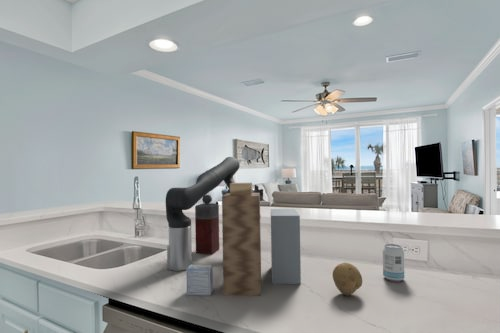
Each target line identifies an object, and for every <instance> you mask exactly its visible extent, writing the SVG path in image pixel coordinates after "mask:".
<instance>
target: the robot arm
mask: <svg viewBox="0 0 500 333" xmlns="http://www.w3.org/2000/svg"><path fill="white" fill-rule="evenodd" d="M239 168H240V161H239V160H238V159H237V158H236V157H233V156H227V157H225V159H223V160H222V161H221V162H220V163H219V164H217V165H215V166H213V167H211V168H210V169H208V170H206V171H204V172H202V173H201V174H199V176H197V178H196V181H195V184H193V185H191V186H188V187H171V188H169V189H168V190H167V191H166V194H165V195H166V196H165V214H166V220H167V223H168V245H167V246H166V259H167V260H166V262H167V264H166V266H167V268H166V270H170V271H175V272H176V271H177V272H178V271H179V272H181V271H186V269H187V268H188V267H189V266H190V265H193V263H192V262H193V261H192V260H193V258H192V255H193V254H192V219H191V218H190V216H187V215H186V214H185V213H184V211H187V210H190V209H192V208H193V207H194V206H196V205H197V203H199V201H200V200H201V199H202V198H203V196H205V195H208V194H209V193H210V192H211V191H213V190H214V189H216V188H217V187H218V186H219V185H221V183H222V182H224V183H225V185H226V187H227V188H228V190H227V193H230V183H236V182H235V180H234V175H235V174H236V173H237V172H238V171H239ZM252 193H260V202H262V201H263V200H264V189H263V188H260V189H259V186H258V185H257V184H254V189H252ZM260 219H261V214H260Z"/></svg>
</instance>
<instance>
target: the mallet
mask: <svg viewBox="0 0 500 333" xmlns="http://www.w3.org/2000/svg"><path fill="white" fill-rule="evenodd" d="M252 190H253V182H235V183H230V196H252Z"/></svg>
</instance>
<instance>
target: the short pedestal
mask: <svg viewBox="0 0 500 333" xmlns="http://www.w3.org/2000/svg"><path fill="white" fill-rule="evenodd" d="M300 217H301V216H300V214H299V213H298V211H297V209H296V208H271V209H270V249H271V250H270V251H271V252H270V254H271V255H270V256H271V257H270V258H271V260H270V262H271V265H270V266H271V283H272V285H275V284H276V285H279V284H281V285H285V284H286V285H287V284H289V285H296V284H297V285H301V283H302V282H301V281H302V280H301V279H302V278H301V273H302V272H301V270H302V269H301V268H302V267H301V218H300Z"/></svg>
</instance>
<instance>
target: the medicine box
mask: <svg viewBox="0 0 500 333" xmlns="http://www.w3.org/2000/svg"><path fill="white" fill-rule="evenodd" d="M213 268H214V267H213V265H212V264H192V265H190V266H189V267H188V268H187V269H186V270H185V271H186V272H185V273H186V274H185V275H186V296H211V294H212V293H213V290H214V277H213V276H214V274H213V273H214V272H213V271H214V270H213Z"/></svg>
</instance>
